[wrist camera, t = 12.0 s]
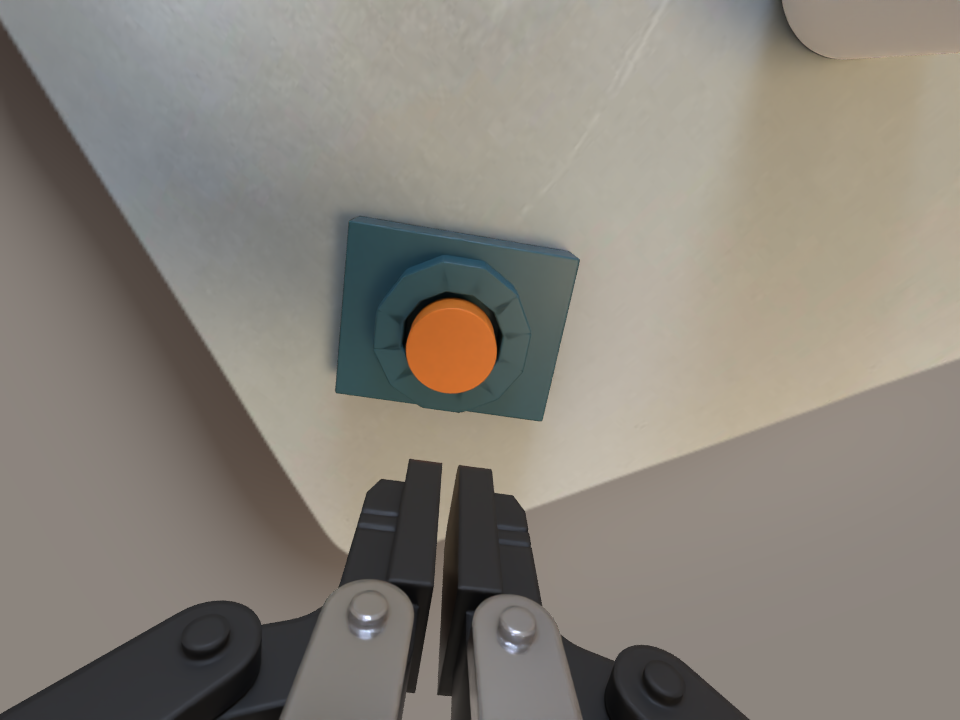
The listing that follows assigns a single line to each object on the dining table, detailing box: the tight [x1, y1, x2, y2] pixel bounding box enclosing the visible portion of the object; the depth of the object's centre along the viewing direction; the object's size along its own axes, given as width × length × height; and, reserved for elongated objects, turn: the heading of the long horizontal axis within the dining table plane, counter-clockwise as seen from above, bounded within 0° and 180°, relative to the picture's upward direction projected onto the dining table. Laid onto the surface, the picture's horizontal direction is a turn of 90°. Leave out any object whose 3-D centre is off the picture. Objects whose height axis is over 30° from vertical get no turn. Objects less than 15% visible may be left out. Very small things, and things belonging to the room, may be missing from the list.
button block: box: [335, 216, 580, 421], centre depth 24 cm, size 10×8×4 cm
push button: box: [406, 298, 497, 394], centre depth 21 cm, size 4×4×2 cm
